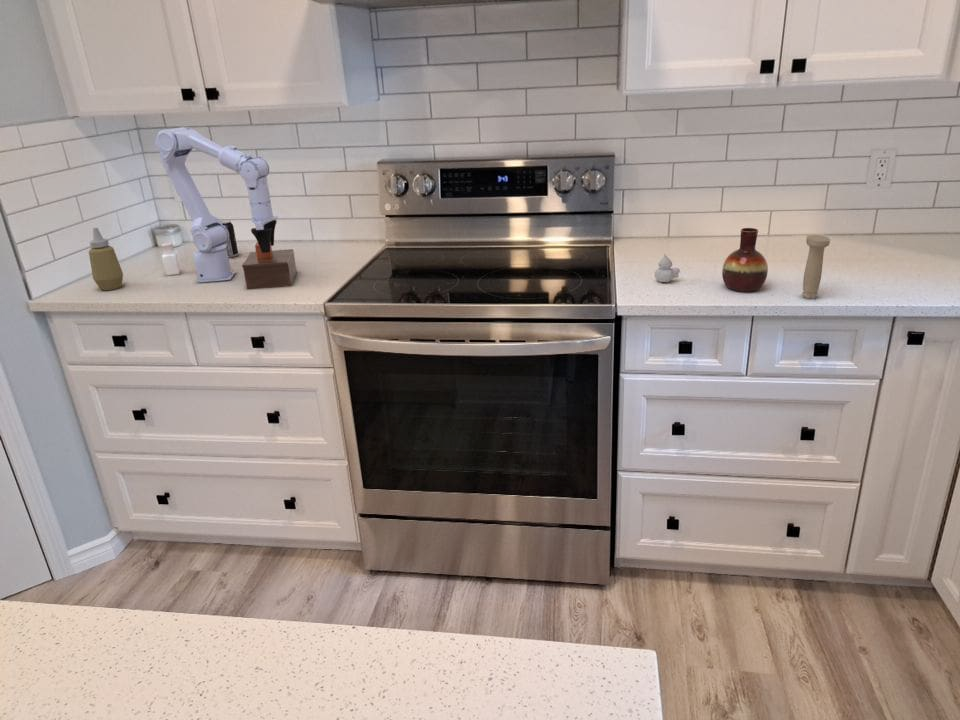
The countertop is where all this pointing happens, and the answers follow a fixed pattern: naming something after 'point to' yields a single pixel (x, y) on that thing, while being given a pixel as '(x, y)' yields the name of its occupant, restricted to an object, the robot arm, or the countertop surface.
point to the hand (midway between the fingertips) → (268, 249)
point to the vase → (745, 265)
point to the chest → (270, 275)
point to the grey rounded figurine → (666, 270)
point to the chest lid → (276, 259)
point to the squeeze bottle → (104, 263)
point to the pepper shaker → (170, 259)
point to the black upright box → (230, 239)
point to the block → (263, 255)
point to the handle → (814, 264)
